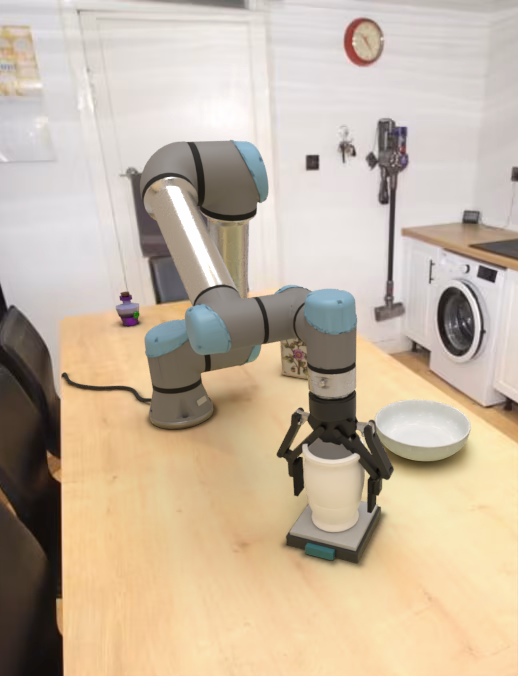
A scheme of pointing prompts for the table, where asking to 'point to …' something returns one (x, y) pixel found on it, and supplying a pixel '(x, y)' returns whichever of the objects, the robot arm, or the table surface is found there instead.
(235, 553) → the table surface
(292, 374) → the decorative jar
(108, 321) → the table surface
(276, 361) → the table surface
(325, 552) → the scale
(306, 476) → the jar
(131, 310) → the potion bottle
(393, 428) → the serving bowl
